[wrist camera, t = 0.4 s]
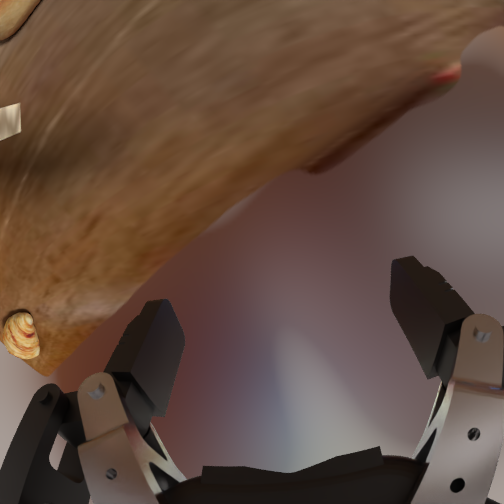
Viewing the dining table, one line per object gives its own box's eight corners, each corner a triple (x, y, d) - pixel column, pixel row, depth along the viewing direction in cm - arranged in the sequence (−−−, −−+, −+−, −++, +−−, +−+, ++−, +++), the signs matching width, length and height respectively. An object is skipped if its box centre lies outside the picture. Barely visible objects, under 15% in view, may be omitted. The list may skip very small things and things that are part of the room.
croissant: (28, 290, 43) (-2, 301, 36) (51, 331, 43) (21, 346, 35) (19, 333, 51) (-3, 344, 44) (38, 366, 51) (16, 379, 43)
